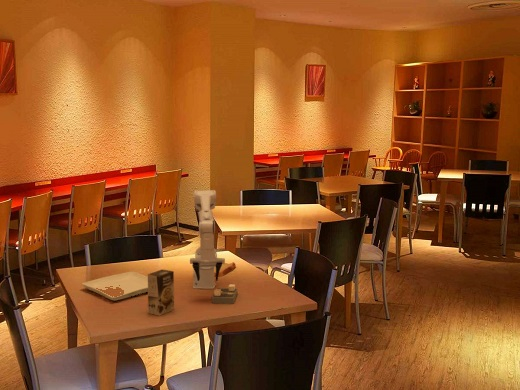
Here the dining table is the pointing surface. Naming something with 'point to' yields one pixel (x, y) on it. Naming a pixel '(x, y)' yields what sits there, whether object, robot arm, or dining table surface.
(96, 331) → the dining table surface
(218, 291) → the front tab
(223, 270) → the slice of bread
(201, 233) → the robot arm
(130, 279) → the square plate
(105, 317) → the dining table surface
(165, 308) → the coffee box
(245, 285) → the dining table surface
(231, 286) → the tab
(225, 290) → the switch board
